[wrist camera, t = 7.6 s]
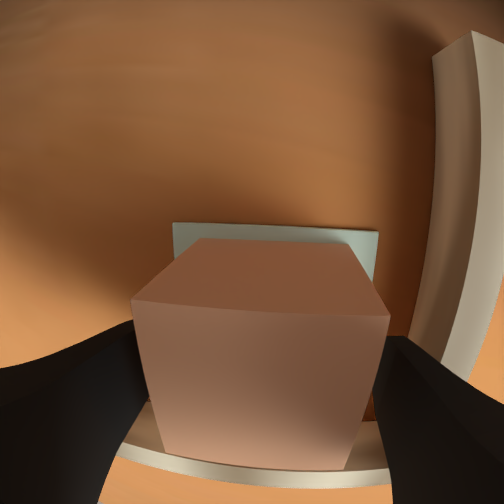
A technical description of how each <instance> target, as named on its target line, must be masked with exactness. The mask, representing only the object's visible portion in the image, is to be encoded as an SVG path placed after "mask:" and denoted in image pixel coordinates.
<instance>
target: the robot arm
mask: <svg viewBox="0 0 504 504" xmlns="http://www.w3.org/2000/svg"><path fill="white" fill-rule="evenodd" d="M372 392H373V401H374V408H375V415H376V419H377V423H378V427H379V431H380V435H381V439H382V443H383V447H384V451H385V455H386V459H387V463H388V467H389V472H390V478H391V484H392V495H393V504H504V404H502V403H500V402H498V401H496V400H494V399H493V398H491V397H489V396H487V395H486V394H484V393H482V392H481V391H479V390H477V389H476V388H474V387H473V386H471V385H470V384H469V383H467V382H466V381H464V380H463V379H461V378H460V377H458V376H457V375H456V374H454V373H453V372H452V371H450V370H449V369H448V368H446V367H445V366H444V365H442V364H441V363H440V362H438V361H437V360H436V359H435V358H433V357H432V356H431V355H430V354H428V353H427V352H426V351H424V350H423V349H422V348H421V347H419V346H418V345H417V344H415V343H414V342H413V341H411V340H410V339H408V338H407V337H405V336H386V340H385V344H384V348H383V352H382V356H381V359H380V363H379V367H378V371H377V374H376V378H375V381H374V384H373V388H372ZM148 398H149V392H148V388H147V384H146V380H145V375H144V371H143V366H142V362H141V357H140V352H139V347H138V342H137V337H136V332H135V326H134V321H133V319H132V320H129V321H126V322H124V323H121V324H119V325H117V326H115V327H112V328H110V329H108V330H106V331H104V332H102V333H99V334H97V335H95V336H93V337H91V338H89V339H86V340H84V341H82V342H80V343H78V344H75V345H73V346H70V347H68V348H66V349H63V350H61V351H58V352H56V353H54V354H51V355H48V356H45V357H43V358H40V359H36V360H33V361H30V362H26V363H23V364H19V365H15V366H10V367H5V368H0V504H97V502H98V499H99V496H100V493H101V491H102V488H103V485H104V482H105V479H106V477H107V474H108V472H109V469H110V467H111V465H112V462H113V460H114V457H115V455H116V453H117V451H118V449H119V447H120V446H121V444H122V442H123V440H124V439H125V437H126V435H127V434H128V432H129V430H130V429H131V427H132V425H133V424H134V422H135V420H136V418H137V417H138V415H139V413H140V412H141V410H142V408H143V406H144V405H145V403H146V401H147V399H148Z"/></svg>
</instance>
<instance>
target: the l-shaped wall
mask: <svg viewBox="0 0 504 504" xmlns="http://www.w3.org/2000/svg"><path fill="white" fill-rule="evenodd" d="M432 64H433V75H434V89H435V114H436V147H435V173H434V188H433V200H432V210H431V219H430V227H429V235H428V242H427V248H426V255H425V261H424V266H423V272H422V277H421V282H420V287H419V292H418V297H417V301H416V306H415V310H414V314H413V318H412V322H411V326H410V330H409V334H408V339H410V340H411V341H413V342H414V343H415V344H417V345H418V346H419V347H421V348H422V349H423V350H424V351H426V352H427V353H428V354H430V355H431V356H432V357H433V358H435V359H436V360H437V361H438V362H440V363H441V364H442V365H444V366H445V367H446V368H448V369H449V370H450V371H452V372H453V373H454V374H456V375H457V376H458V377H460V378H461V379H463V380H464V381H466V382H467V380H468V378H469V376H470V374H471V371H472V369H473V367H474V364H475V362H476V359H477V357H478V354H479V352H480V349H481V347H482V344H483V341H484V338H485V336H486V333H487V330H488V327H489V324H490V321H491V318H492V315H493V311H494V308H495V305H496V301H497V298H498V294H499V290H500V287H501V283H502V279H503V274H504V44H503V43H501V42H499V41H496V40H494V39H492V38H489V37H487V36H485V35H482V34H480V33H477V32H474V31H472V30H471V31H469V32H468V33H466V34H465V35H463V36H462V37H460V38H459V39H457V40H456V41H454V42H453V43H451V44H450V45H448V46H447V47H445V48H444V49H442V50H441V51H440V52H438V53H437V54H435V55H434V56H432ZM116 456H119V457H122V458H125V459H128V460H131V461H135V462H138V463H141V464H145V465H148V466H152V467H156V468H159V469H163V470H167V471H171V472H176V473H180V474H185V475H189V476H194V477H199V478H205V479H210V480H216V481H223V482H230V483H237V484H245V485H255V486H266V487H280V488H313V489H318V488H350V487H364V486H375V485H384V484H391V478H390V472H389V467H388V463H387V459H386V455H385V451H384V447H383V443H382V439H381V435H380V431H379V427H378V423H377V421H364V422H361V425H360V428H359V430H358V433H357V436H356V439H355V441H354V444H353V446H352V449H351V452H350V454H349V457H348V459H347V462H346V464H345V466H344V469H343V470H287V469H271V468H258V467H248V466H239V465H231V464H224V463H217V462H211V461H205V460H199V459H194V458H189V457H184V456H179V455H175V454H170V453H166V452H165V449H164V445H163V442H162V439H161V436H160V432H159V429H158V425H157V422H156V418H155V415H154V411H153V407H152V404H151V402H149V401H146V403H145V405H144V406H143V408H142V410H141V412H140V413H139V415H138V417H137V418H136V420H135V422H134V424H133V425H132V427H131V429H130V430H129V432H128V434H127V435H126V437H125V439H124V440H123V442H122V444H121V446H120V447H119V449H118V451H117V453H116Z"/></svg>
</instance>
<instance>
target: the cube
mask: <svg viewBox="0 0 504 504" xmlns="http://www.w3.org/2000/svg"><path fill="white" fill-rule="evenodd" d="M130 303H131V309H132V315H133V321H134V326H135V332H136V337H137V342H138V347H139V352H140V357H141V362H142V366H143V371H144V375H145V380H146V384H147V388H148V392H149V396H150V400H151V404H152V407H153V411H154V415H155V418H156V422H157V425H158V429H159V432H160V436H161V439H162V442H163V445H164V449H165V452H166V453H170V454H175V455H179V456H184V457H189V458H194V459H199V460H205V461H211V462H217V463H224V464H231V465H239V466H248V467H258V468H271V469H287V470H343V469H344V466H345V464H346V462H347V459H348V457H349V454H350V452H351V449H352V446H353V444H354V441H355V439H356V436H357V433H358V430H359V428H360V425H361V422H362V419H363V416H364V413H365V410H366V407H367V404H368V401H369V398H370V394H371V391H372V388H373V384H374V381H375V378H376V374H377V371H378V367H379V363H380V359H381V356H382V352H383V348H384V344H385V340H386V335H387V331H388V327H389V322H390V318H391V315H390V313H389V312H388V310H387V308H386V306H385V304H384V303H383V301H382V299H381V297H380V296H379V294H378V292H377V290H376V289H375V287H374V285H373V284H372V282H371V280H370V278H369V277H368V275H367V273H366V272H365V270H364V268H363V267H362V265H361V263H360V262H359V260H358V259H357V257H356V255H355V254H354V252H353V250H352V249H351V247H350V246H349V244H333V243H312V242H290V241H267V240H243V239H217V238H199V239H198V240H197V241H196V242H194V243H193V244H192V245H191V246H190V247H189V248H187V249H186V250H185V251H184V252H183V253H182V254H180V255H179V256H178V257H177V258H176V259H175V260H174V261H172V262H171V263H170V264H169V265H168V266H167V267H166V268H164V269H163V270H162V271H161V272H160V273H159V274H158V275H157V276H155V277H154V278H153V279H152V280H151V281H150V282H149V283H148V284H146V285H145V286H144V287H143V288H142V289H141V290H140V291H139V292H138V293H136V294H135V295H134V296H133V297H132V298H131V299H130Z"/></svg>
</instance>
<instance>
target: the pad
mask: <svg viewBox="0 0 504 504" xmlns="http://www.w3.org/2000/svg"><path fill="white" fill-rule="evenodd" d="M172 228H173V248H174V260H175V259H176V258H177V257H178V256H179V255H180V254H182V253H183V252H184V251H185V250H186V249H187V248H189V247H190V246H191V245H192V244H193V243H194V242H196V241H197V240H198V239H199V238H217V239H243V240H267V241H290V242H312V243H333V244H349V246H350V247H351V249H352V250H353V252H354V254H355V255H356V257H357V259H358V260H359V262H360V263H361V265H362V267H363V268H364V270H365V272H366V273H367V275H368V277H369V278H370V280H371V282H372V281H373V274H374V267H375V260H376V252H377V244H378V235H379V232H378V231H366V230H351V229H334V228H316V227H296V226H275V225H251V224H224V223H192V222H174V223H172Z"/></svg>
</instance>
